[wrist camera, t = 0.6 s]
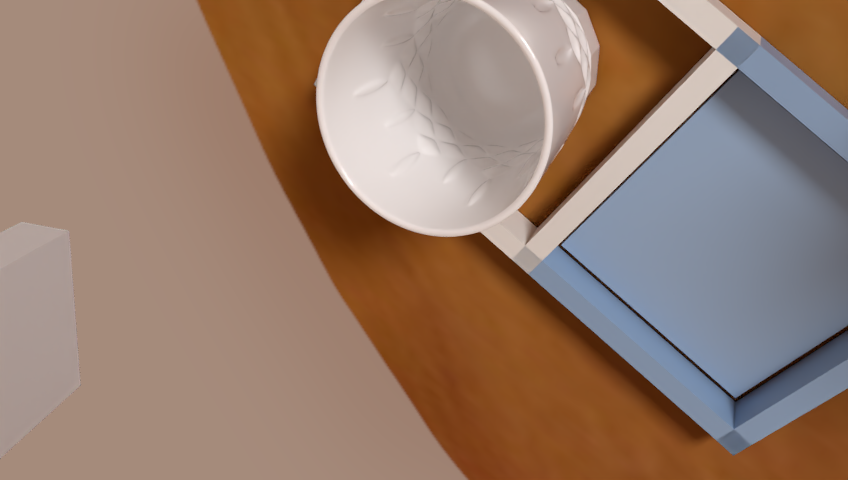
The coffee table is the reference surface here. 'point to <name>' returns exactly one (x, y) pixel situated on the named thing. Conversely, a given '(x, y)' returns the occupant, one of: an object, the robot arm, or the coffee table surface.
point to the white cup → (453, 105)
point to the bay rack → (714, 237)
